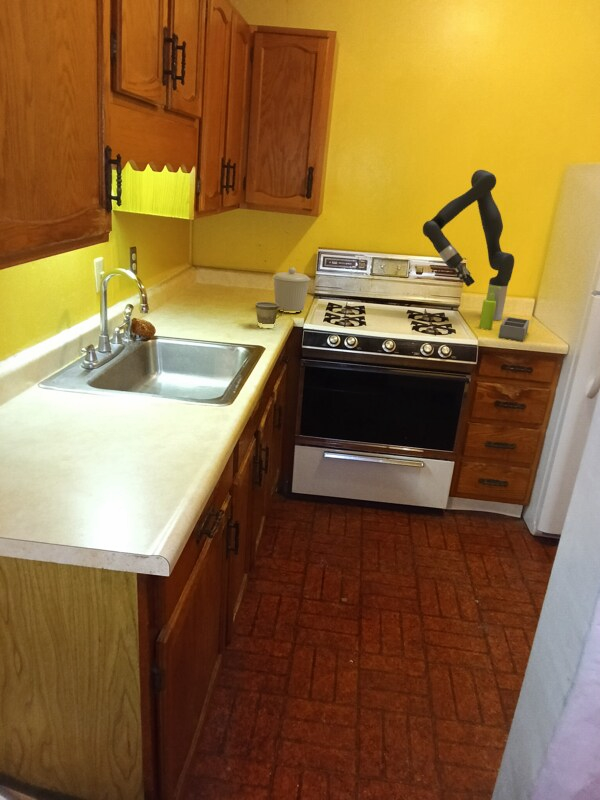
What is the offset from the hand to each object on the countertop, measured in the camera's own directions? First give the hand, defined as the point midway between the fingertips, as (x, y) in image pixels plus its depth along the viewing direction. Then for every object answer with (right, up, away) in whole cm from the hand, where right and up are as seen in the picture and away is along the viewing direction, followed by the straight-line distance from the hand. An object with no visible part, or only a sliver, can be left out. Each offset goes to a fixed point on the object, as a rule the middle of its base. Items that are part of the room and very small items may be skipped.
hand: (471, 284), depth 291 cm
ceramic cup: (-94, -23, -25) cm, 100 cm away
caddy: (+17, -25, -7) cm, 31 cm away
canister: (-86, -12, +8) cm, 87 cm away
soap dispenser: (+8, -21, +3) cm, 22 cm away
